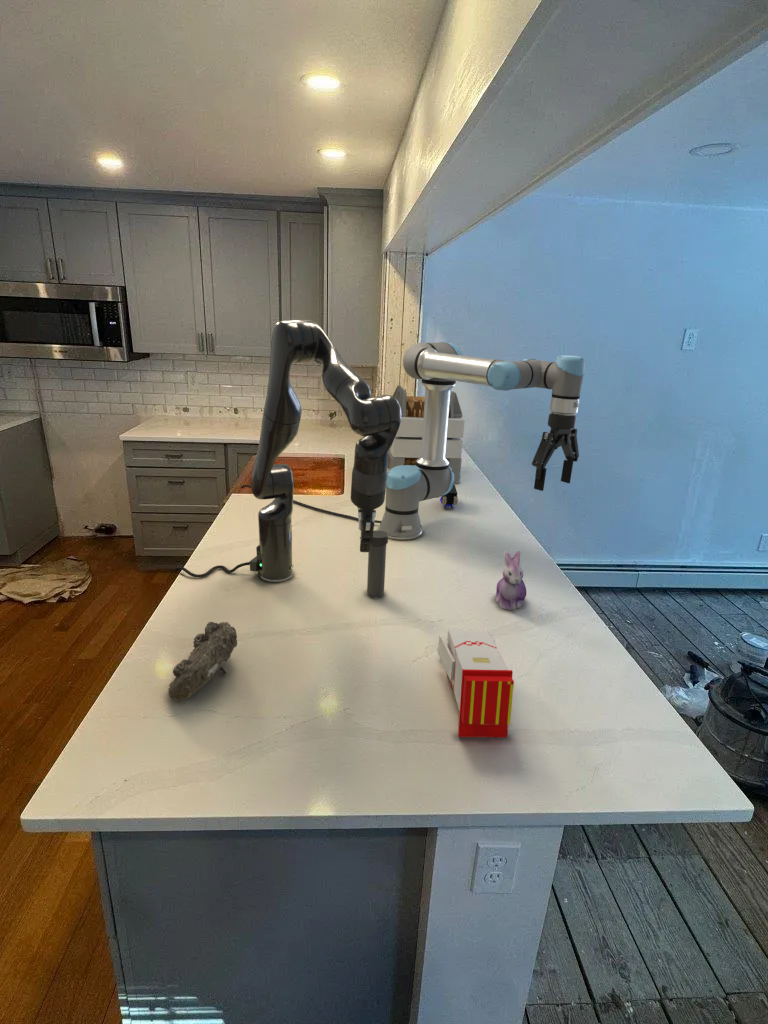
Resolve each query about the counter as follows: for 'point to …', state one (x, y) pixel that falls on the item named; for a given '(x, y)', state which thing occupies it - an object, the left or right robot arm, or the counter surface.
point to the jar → (376, 571)
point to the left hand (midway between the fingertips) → (363, 538)
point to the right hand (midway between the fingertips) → (552, 485)
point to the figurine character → (450, 498)
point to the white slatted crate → (411, 432)
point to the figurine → (511, 584)
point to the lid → (379, 538)
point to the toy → (478, 682)
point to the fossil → (203, 659)
